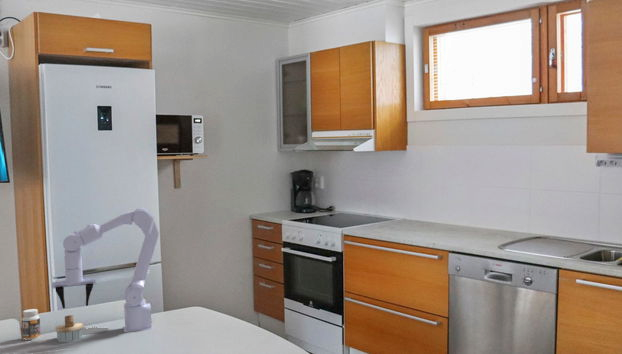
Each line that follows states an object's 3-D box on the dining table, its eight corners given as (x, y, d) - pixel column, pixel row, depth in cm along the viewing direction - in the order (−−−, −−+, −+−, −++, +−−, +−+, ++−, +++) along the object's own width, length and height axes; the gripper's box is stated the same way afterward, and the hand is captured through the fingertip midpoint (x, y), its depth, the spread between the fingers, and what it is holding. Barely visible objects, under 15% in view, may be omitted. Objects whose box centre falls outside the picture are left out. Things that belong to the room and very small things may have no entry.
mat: (107, 326, 225) (107, 325, 225) (108, 332, 216) (108, 331, 216) (79, 329, 222) (79, 328, 222) (78, 336, 212) (78, 335, 212)
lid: (84, 324, 214) (83, 312, 214) (82, 330, 206) (82, 317, 206) (56, 326, 212) (56, 314, 212) (54, 333, 203) (53, 320, 203)
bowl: (82, 335, 214) (82, 324, 214) (81, 341, 206) (81, 330, 206) (58, 338, 211) (57, 327, 211) (56, 344, 204) (56, 333, 204)
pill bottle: (33, 341, 209) (32, 312, 209) (19, 340, 210) (17, 312, 210) (44, 336, 214) (42, 308, 214) (29, 335, 216) (28, 308, 215)
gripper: (95, 264, 220) (97, 301, 220) (52, 268, 215) (54, 306, 215) (95, 267, 213) (97, 305, 213) (50, 271, 208) (52, 310, 208)
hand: (75, 306), depth 214 cm, fingers open, 7 cm apart
